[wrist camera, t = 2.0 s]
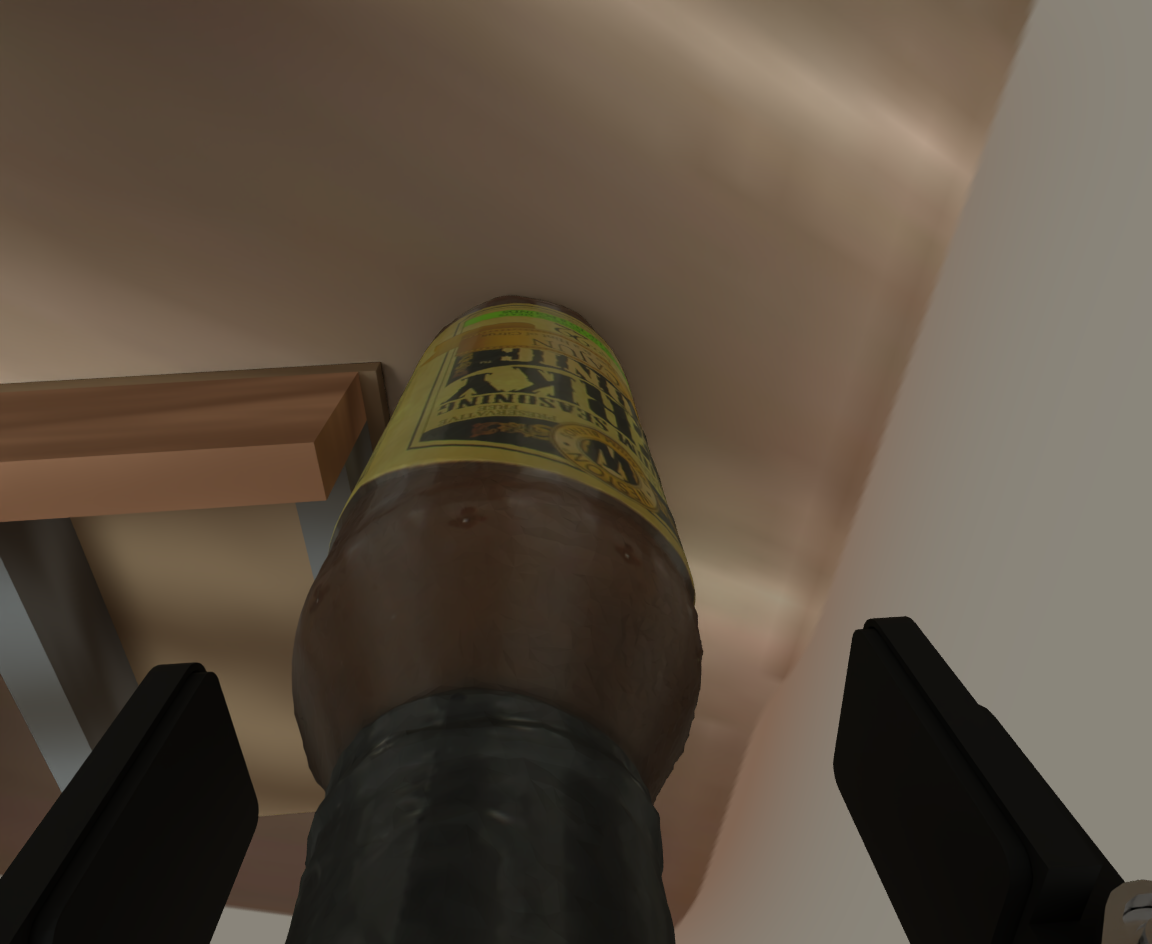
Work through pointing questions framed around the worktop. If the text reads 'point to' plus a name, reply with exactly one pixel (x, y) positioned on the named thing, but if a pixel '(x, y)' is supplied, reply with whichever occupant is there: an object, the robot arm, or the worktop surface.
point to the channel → (174, 545)
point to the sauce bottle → (498, 656)
